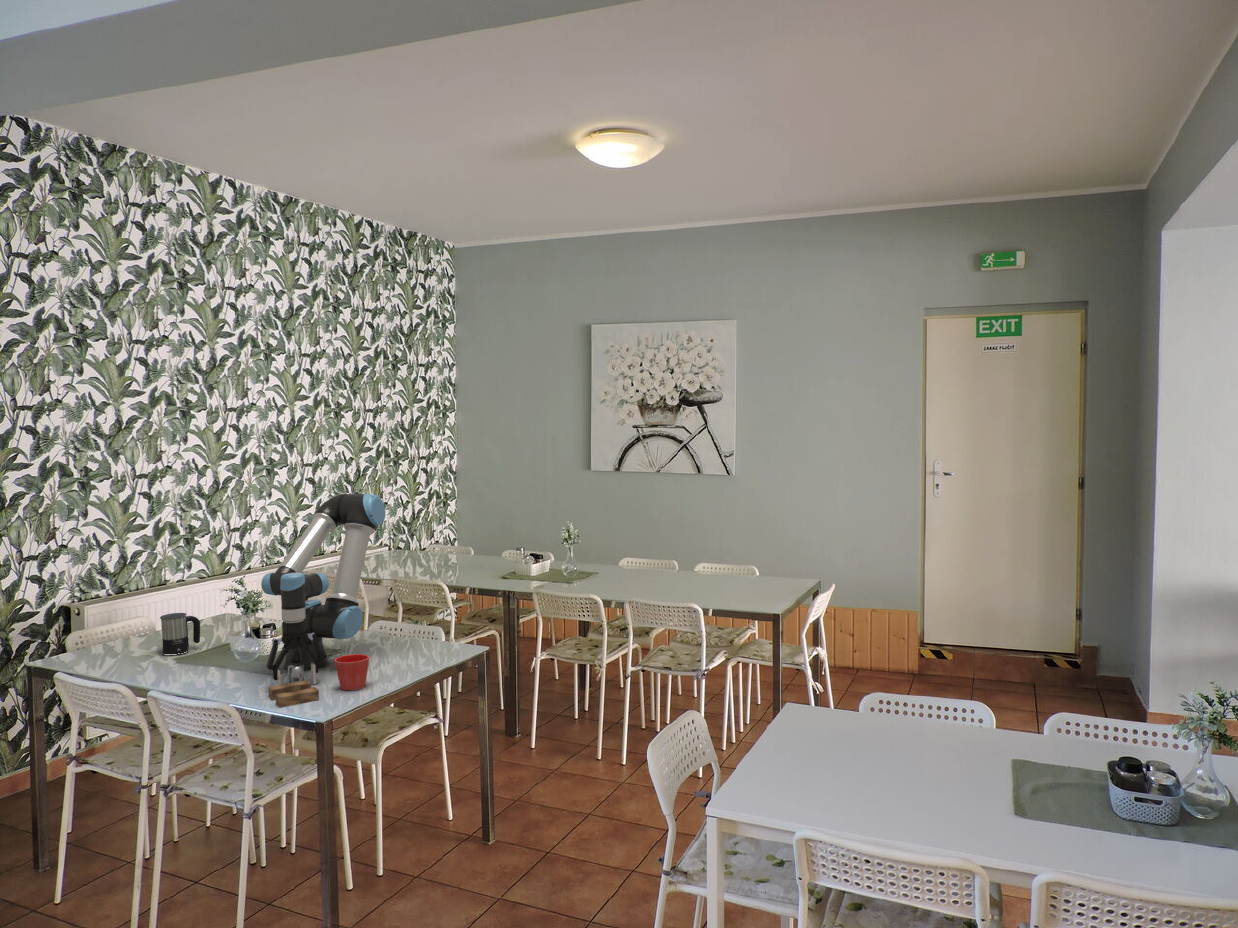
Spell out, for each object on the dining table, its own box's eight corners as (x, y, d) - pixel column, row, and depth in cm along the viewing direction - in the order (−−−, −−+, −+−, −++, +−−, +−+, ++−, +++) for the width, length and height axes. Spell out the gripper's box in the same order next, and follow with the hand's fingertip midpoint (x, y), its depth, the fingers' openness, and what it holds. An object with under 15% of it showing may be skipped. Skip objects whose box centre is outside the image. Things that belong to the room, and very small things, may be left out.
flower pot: (339, 682, 297) (338, 654, 297) (372, 681, 298) (372, 653, 298) (332, 692, 287) (331, 662, 286) (366, 691, 288) (365, 661, 287)
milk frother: (171, 657, 334) (169, 618, 333) (146, 652, 342) (144, 614, 341) (205, 648, 346) (203, 611, 346) (180, 644, 354) (179, 607, 354)
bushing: (302, 683, 298) (301, 663, 297) (306, 687, 293) (305, 666, 293) (286, 686, 295) (285, 665, 294) (290, 689, 291) (289, 668, 290)
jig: (306, 689, 291) (306, 680, 291) (319, 699, 280) (318, 690, 279) (268, 696, 284) (268, 686, 284) (279, 707, 273) (279, 697, 273)
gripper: (325, 613, 303) (328, 677, 304) (254, 623, 289) (257, 689, 291) (332, 617, 296) (334, 682, 297) (259, 627, 283) (262, 695, 284)
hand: (296, 686), depth 294 cm, fingers open, 11 cm apart
